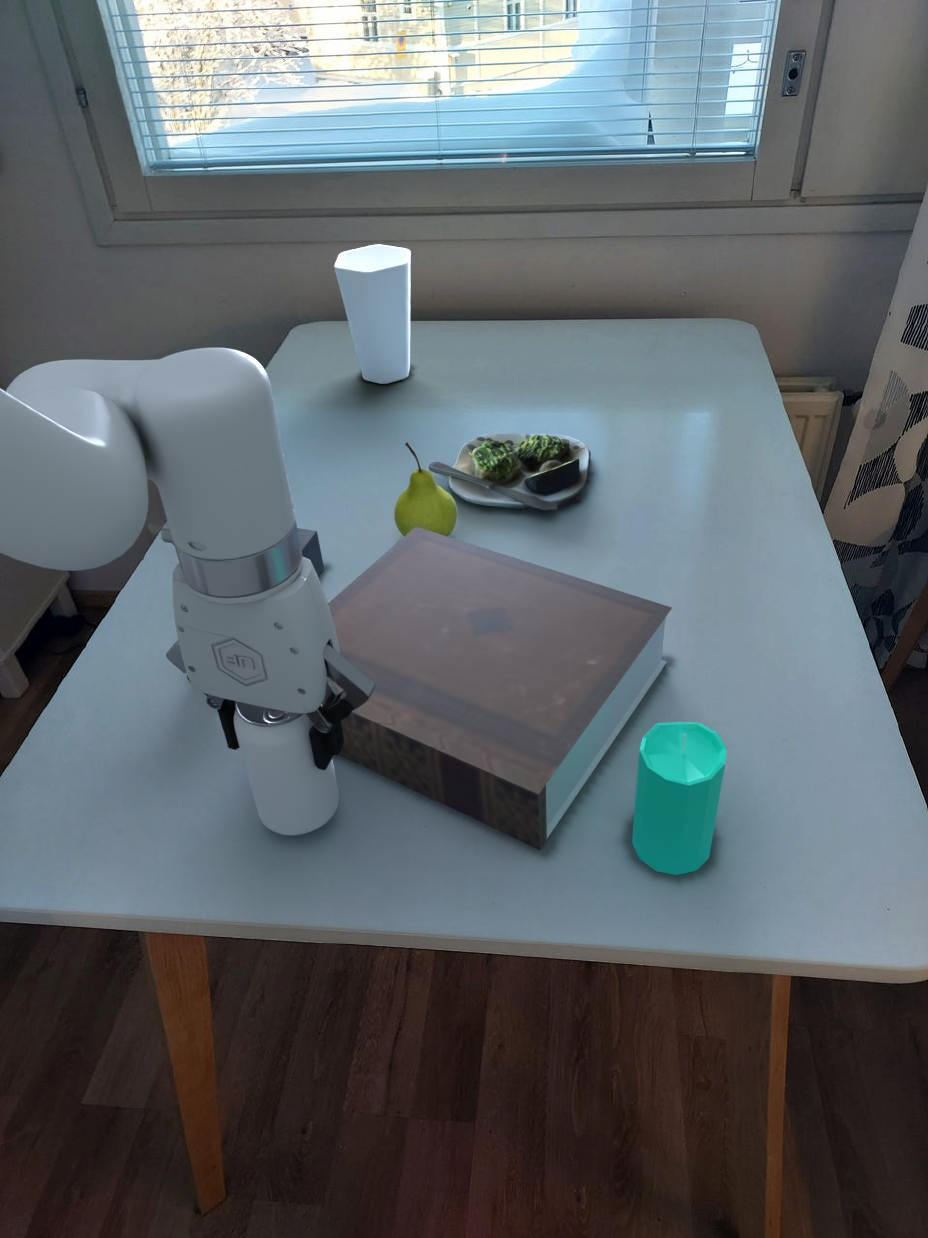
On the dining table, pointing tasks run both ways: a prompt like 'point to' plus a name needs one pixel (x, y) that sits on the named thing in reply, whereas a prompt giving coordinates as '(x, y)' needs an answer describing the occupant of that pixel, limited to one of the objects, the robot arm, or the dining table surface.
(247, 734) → the can
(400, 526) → the fruit
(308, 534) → the block far
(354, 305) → the cup
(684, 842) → the candle
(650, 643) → the book
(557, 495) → the salad plate
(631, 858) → the dining table surface
